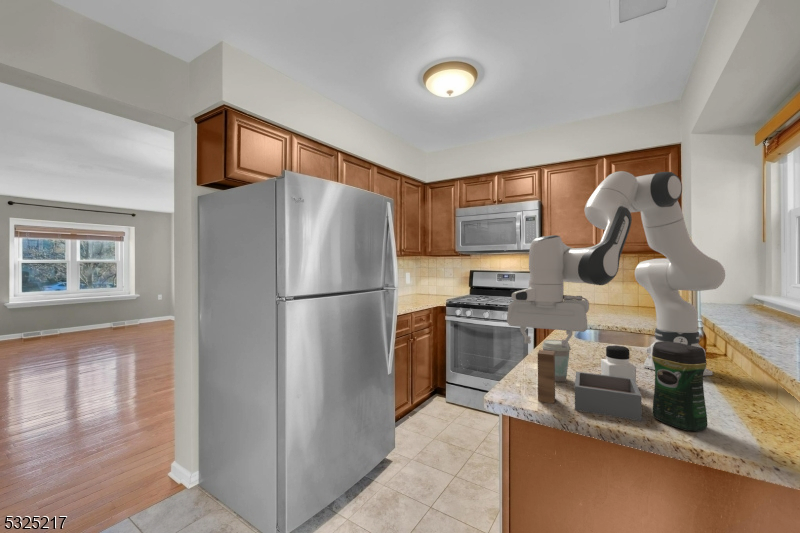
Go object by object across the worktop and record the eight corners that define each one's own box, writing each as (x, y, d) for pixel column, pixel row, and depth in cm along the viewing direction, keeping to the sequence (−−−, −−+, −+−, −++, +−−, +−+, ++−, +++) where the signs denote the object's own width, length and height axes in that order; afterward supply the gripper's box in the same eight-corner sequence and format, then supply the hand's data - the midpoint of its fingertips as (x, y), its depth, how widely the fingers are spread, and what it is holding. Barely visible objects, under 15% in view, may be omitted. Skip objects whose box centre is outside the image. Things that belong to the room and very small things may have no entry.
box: (576, 392, 100) (576, 371, 100) (634, 400, 93) (634, 378, 93) (574, 409, 88) (574, 386, 88) (641, 421, 81) (641, 395, 81)
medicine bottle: (636, 390, 101) (636, 349, 101) (609, 388, 103) (609, 348, 103) (625, 382, 108) (625, 344, 108) (600, 381, 110) (600, 343, 110)
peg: (539, 395, 97) (539, 349, 97) (555, 398, 95) (554, 351, 95) (537, 400, 94) (537, 353, 94) (554, 403, 92) (553, 354, 92)
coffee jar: (714, 429, 77) (714, 346, 77) (690, 435, 74) (689, 349, 74) (668, 412, 86) (668, 337, 86) (645, 416, 84) (645, 340, 84)
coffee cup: (543, 381, 109) (542, 344, 109) (541, 373, 117) (541, 338, 117) (572, 384, 106) (572, 345, 106) (569, 376, 114) (568, 340, 114)
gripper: (589, 295, 92) (588, 347, 92) (510, 292, 102) (510, 339, 102) (589, 296, 87) (589, 351, 87) (505, 293, 97) (505, 343, 97)
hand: (545, 345), depth 94 cm, fingers open, 8 cm apart
